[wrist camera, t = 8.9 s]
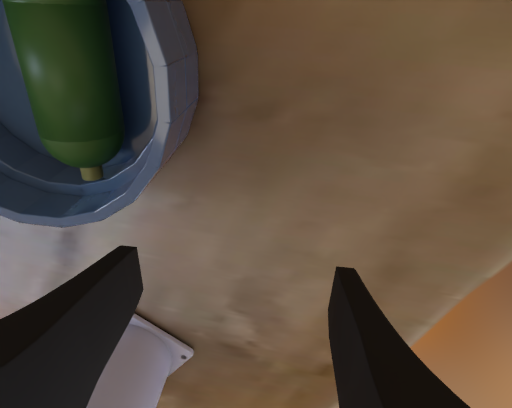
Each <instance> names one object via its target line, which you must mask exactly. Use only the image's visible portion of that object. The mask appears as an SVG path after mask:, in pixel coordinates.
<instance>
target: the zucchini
mask: <svg viewBox="0 0 512 408" xmlns="http://www.w3.org/2000/svg"><path fill="white" fill-rule="evenodd" d="M2 2H3V6H4V9H5V13H6V17H7V20H8V24H9V28H10V31H11V35H12V39H13V42H14V46H15V50H16V53H17V57H18V61H19V64H20V68H21V72H22V75H23V79H24V83H25V87H26V90H27V94H28V98H29V101H30V105H31V109H32V112H33V116H34V120H35V123H36V127H37V131H38V134H39V137H40V139H41V142H42V144H43V145H44V147H45V148H46V150H47V151H48V152H49V153H50V154H51V155H52V156H53V157H54V158H56V159H57V160H59V161H60V162H62V163H64V164H67V165H69V166H72V167H77V168H80V171H81V176H82V179H83V180H86V181H94V180H98V179H101V178H102V177H103V176H104V174H103V168H102V165H103V164H105V163H107V162H109V161H110V160H111V159H112V158H113V157H115V156H116V154H117V153H118V152H119V150H120V149H121V147H122V144H123V142H124V136H125V125H124V119H123V112H122V105H121V98H120V91H119V84H118V77H117V70H116V64H115V57H114V50H113V43H112V36H111V29H110V22H109V15H108V9H107V3H106V0H2Z"/></svg>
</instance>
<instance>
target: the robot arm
mask: <svg viewBox="0 0 512 408" xmlns="http://www.w3.org/2000/svg"><path fill="white" fill-rule="evenodd" d="M142 292H143V283H142V277H141V271H140V264H139V258H138V252H137V247H131V246H119V247H117V248H116V249H114V250H113V251H111V252H110V253H108V254H107V255H106V256H104V257H103V258H101V259H100V260H98V261H97V262H96V263H94V264H93V265H91V266H90V267H88V268H87V269H85V270H84V271H82V272H81V273H79V274H78V275H77V276H75V277H74V278H72V279H71V280H69V281H67V282H66V283H64V284H63V285H61V286H59V287H58V288H56V289H55V290H53V291H51V292H50V293H48V294H47V295H45V296H43V297H42V298H40V299H38V300H36V301H35V302H33V303H31V304H29V305H27V306H25V307H24V308H22V309H20V310H18V311H16V312H14V313H12V314H10V315H8V316H6V317H4V318H2V319H0V408H156V407H157V404H158V401H159V398H160V395H161V393H162V390H163V387H164V384H165V381H166V378H167V377H168V376H169V375H170V374H171V373H173V372H174V371H175V370H176V369H178V368H179V367H180V366H181V365H182V364H184V363H185V362H186V361H187V360H189V359H190V358H191V357H192V356H193V353H194V351H193V349H192V348H191V347H189V346H187V345H186V344H184V343H182V342H181V341H179V340H177V339H176V338H174V337H172V336H171V335H169V334H168V333H166V332H164V331H163V330H161V329H159V328H158V327H156V326H154V325H153V324H151V323H149V322H148V321H146V320H144V319H143V318H141V317H140V316H138V315H136V314H135V313H134V312H135V310H136V308H137V305H138V303H139V300H140V297H141V294H142ZM328 323H329V340H330V347H331V353H332V360H333V367H334V373H335V380H336V387H337V393H338V400H339V408H470V407H469V406H468V405H467V404H466V403H464V402H463V401H462V400H461V399H460V398H459V397H458V396H456V394H454V393H453V392H452V391H451V390H450V389H449V388H448V387H447V386H446V385H445V384H444V383H443V382H442V381H441V380H440V379H439V378H438V377H437V376H436V375H434V374H433V373H432V372H431V371H430V370H429V368H427V366H426V365H425V364H424V363H423V362H422V361H421V360H420V359H419V358H418V357H417V356H416V355H415V353H414V352H413V351H412V350H411V349H410V348H409V346H408V345H407V344H406V343H405V342H404V340H403V339H402V338H401V337H400V335H399V334H398V333H397V331H396V330H395V329H394V328H393V326H392V325H391V324H390V322H389V321H388V320H387V318H386V317H385V315H384V314H383V312H382V311H381V310H380V308H379V307H378V305H377V304H376V302H375V301H374V299H373V298H372V296H371V295H370V293H369V291H368V290H367V288H366V287H365V285H364V283H363V282H362V280H361V278H360V276H359V275H358V273H357V271H356V270H355V269H354V268H345V267H336V271H335V276H334V281H333V286H332V292H331V297H330V302H329V307H328Z"/></svg>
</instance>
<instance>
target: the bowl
mask: <svg viewBox="0 0 512 408" xmlns="http://www.w3.org/2000/svg"><path fill="white" fill-rule="evenodd" d="M106 3H107V9H108V15H109V22H110V29H111V36H112V43H113V50H114V57H115V64H116V70H117V77H118V84H119V91H120V98H121V105H122V112H123V119H124V125H125V136H124V142H123V144H122V147H121V149H120V150H119V152H118V153H117V154H116V156H115V157H113V158H112V159H111V160H110V161H109V162H107V163H105V164H103V165H102V168H103V174H104V176H103V177H102V178H101V179H98V180H94V181H86V180H83V179H82V176H81V171H80V168H77V167H72V166H69V165H67V164H64V163H62V162H60V161H59V160H57V159H56V158H54V157H53V156H52V155H51V154H50V153H49V152H48V151H47V150H46V148H45V147H44V145H43V144H42V142H41V139H40V137H39V134H38V131H37V127H36V123H35V120H34V116H33V112H32V109H31V105H30V101H29V98H28V94H27V90H26V87H25V83H24V79H23V75H22V72H21V68H20V64H19V61H18V57H17V53H16V50H15V46H14V42H13V39H12V35H11V31H10V28H9V24H8V20H7V17H6V13H5V9H4V6H3V2H2V0H0V216H3V217H6V218H8V219H11V220H14V221H16V222H19V223H25V224H34V225H43V226H52V227H61V228H62V227H64V228H65V227H70V226H76V225H81V224H87V223H92V222H98V221H101V220H104V219H106V218H107V217H109V216H111V215H113V214H114V213H116V212H118V211H119V210H121V209H123V208H124V207H126V206H128V205H129V204H131V203H133V202H134V201H135V200H136V199H137V198H138V197H139V196H140V194H141V193H142V192H143V191H144V190H145V188H146V187H147V186H148V185H149V184H150V182H151V181H152V180H153V179H154V177H155V176H156V175H157V174H158V173H159V171H160V170H161V169H162V168H163V167H164V165H165V164H166V163H167V162H168V160H169V159H170V158H171V156H172V155H173V154H174V152H175V151H176V150H177V148H178V147H179V146H180V144H181V143H182V142H183V140H184V139H185V138H186V136H187V134H188V132H189V128H190V125H191V122H192V118H193V115H194V112H195V108H196V105H197V102H198V96H199V88H198V52H197V47H196V44H195V41H194V37H193V34H192V31H191V28H190V24H189V21H188V18H187V15H186V12H185V8H184V5H183V2H182V1H181V0H106Z"/></svg>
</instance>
